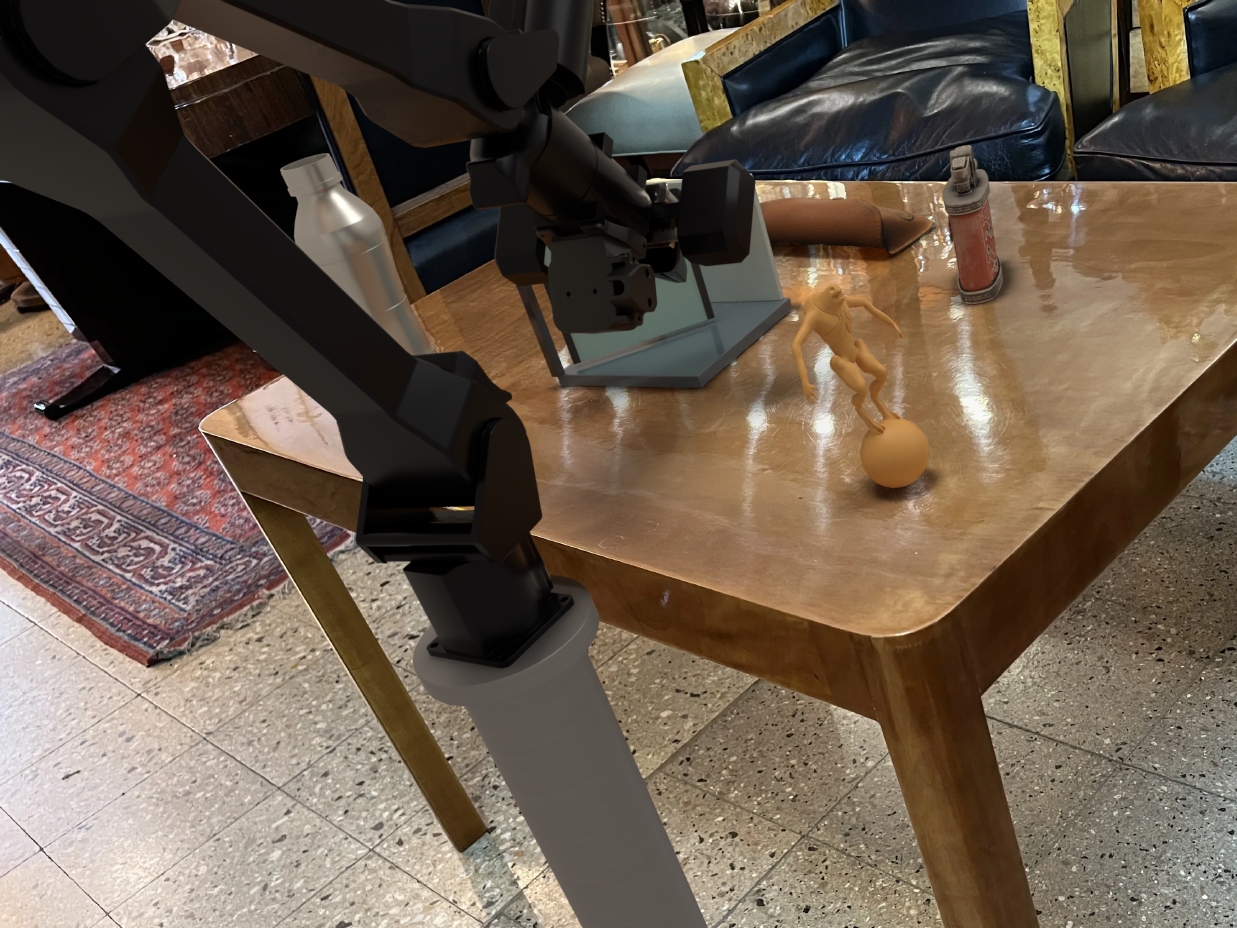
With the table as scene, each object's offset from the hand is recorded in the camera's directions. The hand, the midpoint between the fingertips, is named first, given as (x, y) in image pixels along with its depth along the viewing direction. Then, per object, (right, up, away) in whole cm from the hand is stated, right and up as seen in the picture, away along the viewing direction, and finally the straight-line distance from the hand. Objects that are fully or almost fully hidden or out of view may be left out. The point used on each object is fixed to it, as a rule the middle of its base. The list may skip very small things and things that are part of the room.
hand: (682, 276), depth 88 cm
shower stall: (-1, -3, +8) cm, 9 cm away
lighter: (+23, +1, +4) cm, 23 cm away
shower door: (-4, -3, +7) cm, 9 cm away
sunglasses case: (+11, +9, +21) cm, 26 cm away
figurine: (+15, -17, -18) cm, 29 cm away
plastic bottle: (-22, -9, +9) cm, 26 cm away
